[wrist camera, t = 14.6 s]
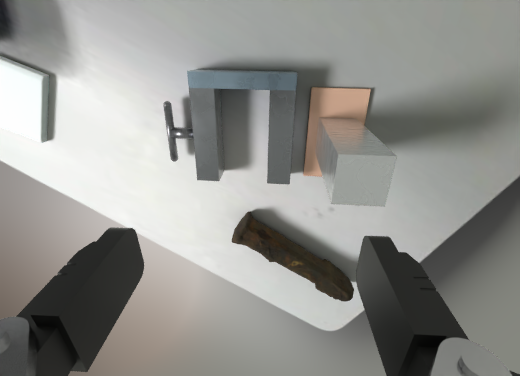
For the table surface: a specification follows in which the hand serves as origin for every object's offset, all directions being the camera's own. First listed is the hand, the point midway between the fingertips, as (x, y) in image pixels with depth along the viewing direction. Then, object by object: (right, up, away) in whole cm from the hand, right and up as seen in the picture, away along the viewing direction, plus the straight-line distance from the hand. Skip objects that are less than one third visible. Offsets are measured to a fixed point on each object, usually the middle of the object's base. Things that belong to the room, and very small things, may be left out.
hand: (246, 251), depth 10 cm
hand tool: (+6, -6, +29) cm, 30 cm away
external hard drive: (-30, +14, +23) cm, 40 cm away
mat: (+9, +8, +21) cm, 25 cm away
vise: (-3, +9, +22) cm, 24 cm away
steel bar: (+9, +8, +21) cm, 24 cm away
